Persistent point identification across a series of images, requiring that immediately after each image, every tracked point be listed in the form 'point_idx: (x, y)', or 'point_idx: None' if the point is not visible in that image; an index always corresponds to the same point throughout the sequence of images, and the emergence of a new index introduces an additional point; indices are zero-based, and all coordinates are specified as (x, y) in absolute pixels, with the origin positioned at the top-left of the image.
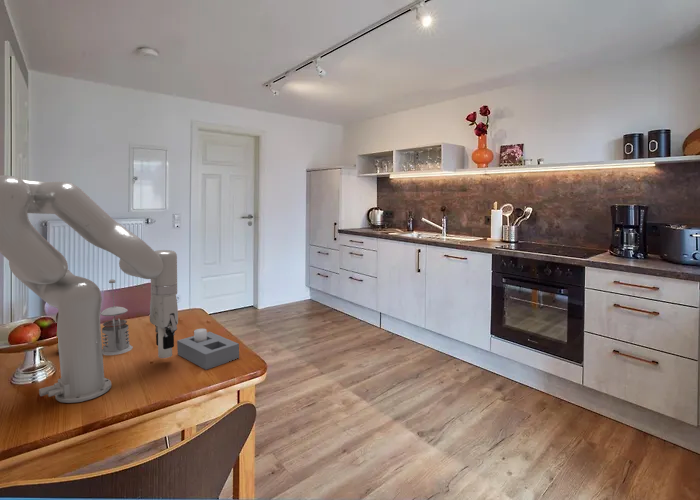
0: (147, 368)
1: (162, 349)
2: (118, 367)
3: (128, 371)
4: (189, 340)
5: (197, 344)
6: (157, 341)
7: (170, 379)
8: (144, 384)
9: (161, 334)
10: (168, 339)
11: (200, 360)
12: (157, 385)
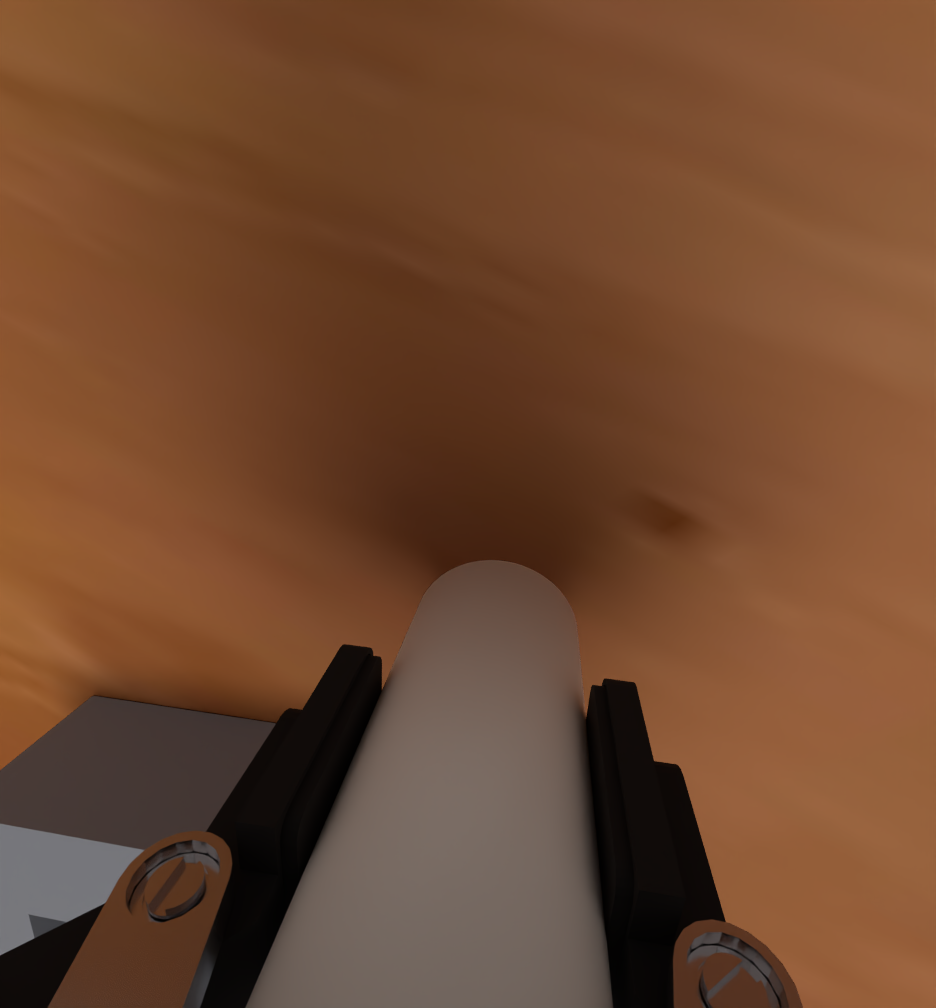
0: (543, 402)
1: (417, 641)
2: (921, 167)
3: (658, 203)
4: None
5: None
6: (602, 731)
7: (102, 407)
8: (156, 163)
9: (334, 882)
10: (229, 821)
11: (130, 753)
12: (49, 250)
